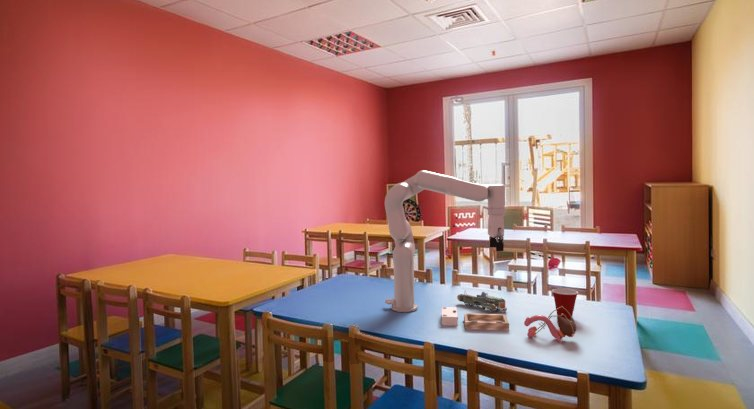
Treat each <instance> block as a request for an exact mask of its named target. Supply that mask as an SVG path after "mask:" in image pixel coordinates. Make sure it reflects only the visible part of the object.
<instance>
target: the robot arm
mask: <svg viewBox="0 0 754 409" xmlns="http://www.w3.org/2000/svg"><path fill="white" fill-rule="evenodd" d="M424 190H425V191H431V192H435V193H439V194H442V195H448V196H453V197H457V198H461V199H464V200H465V199H466V200H470V201H474V202H483V201H485V200H487V216H488V219H487V220H488V221H487V235H488V236H489V248H495V251H496V252H504V249H505V248H504V247H505V246H504V241H505V240H504V239H505V237H504V236H505V220H504V216H505V215H506V187H505V185H504V184H501V183H496V184H494V183H493V184H483V183H473V182H469V181H465V180H462V179H459V178H456V177H454V176H452V175H451V176H450V175H446V174H441V173H436V172H434V171H430V170H429V171H428V170H425V169H423V170H419V171H417V173H416V174H414V175H412V176H411V177H409V178H407V179H406V180H404V181H402V182H398V183H396V184H394V185H393V186H392V187H391V188H390V189H389V190H388V191H387V193H386V195H385V197H384V209H385V213H386V214H385V215H386V220H387V224H388V230H389V231H388V232H389V234H390V237H391V238H392V239H393V241H394V244H395V247H394V249H393V251H392V265H393V266H392V267H393V290H394V291H393V292H394V297H393V298H391V299H390V298H385V304H387V305H391V306H390V307H391V308H390V309H391V310H392V311H394V312H398V313H411V312H414V311H416V310H418V308H419V306H418V305H417V303H415V268H414V267H415V266H414V256H415V254H416V245H415V240H414V235H413V229H412V226H411V224H410V222H409V221H408V220H407V219H406V216H405V209H404V205H403V204H404V202H405V201H406V200H408V199H410V198H412V197H414V196H415V195H418V194H419V193H421V192H422V191H424Z"/></svg>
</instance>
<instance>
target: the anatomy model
mask: <svg viewBox="0 0 754 409" xmlns="http://www.w3.org/2000/svg"><path fill="white" fill-rule="evenodd" d="M561 307H563V306H561ZM561 307H559V308H561ZM559 308H557V309H559ZM563 308H564V307H563ZM557 309H556V308H555V309H554V310H553V311H552V312H550V314H549V315H548V317H547V316H545V315H541V314H537V315H532V316H530V317H529V316H527V317H526V318H525V320H524V323H523V324H524V326H525V327H528V326H531V324H533V323H536V322H538V321H539V322H540V323H539V322H538V325H539V327H538V328H537V326H534V325H533V326H531V327H529V328H528V331H527V334H526V335H527V336H526V337H527V338H529V339H532V338H534V337H535V336H536V335H537V334H538V333H539V332H540V331H541V330H545V328H546V327H547V328H548V330H549V333H550V335H551V336H552V337H553V338H554V339H556V340H557V341H558V342H559V343H560V344H563V341H562V339H561V338H566V337H568V338H573V337H574V336H575V334H576V332H577V330H578V329H577V325H576V323H575V322H574V319H573V315H572V316H571V315H570V313H569V312H568V311H567V310H566V309H565V308H564V309H565V310H566V311H567V312H568V313H569V315H570V316H571V319H568V318H567V317H566V316H565V315H564V314H563V313H562V315H564V316H565V317H566V318H567V319H565V318H563V317H561V316H562V315H560V316H559V315H557V314H556V315H552V314H553V313H554V312H557V311H556V310H557ZM554 317H555V318H557V320H556V321H557V326H558V329H557V327H556V326H555V325H554V323H553V322H552V321H551V318H554ZM541 322H543V323H541Z"/></svg>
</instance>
